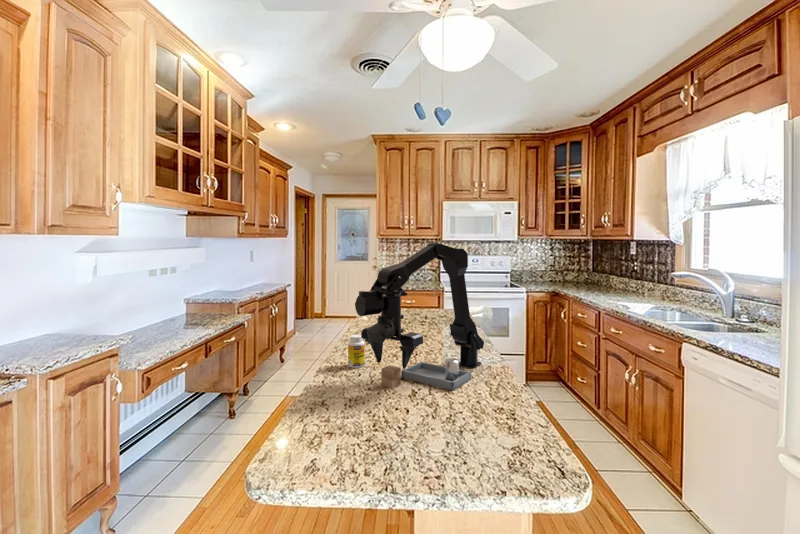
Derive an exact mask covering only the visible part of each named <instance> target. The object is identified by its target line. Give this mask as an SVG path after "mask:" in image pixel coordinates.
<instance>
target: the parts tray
mask: <svg viewBox="0 0 800 534" xmlns="http://www.w3.org/2000/svg"><path fill="white" fill-rule="evenodd" d="M401 379H405V380H408V381H409V380H410V381H414V382H417V383H421V384H425V385H429V386H433V387H437V388H442V389H444V390H445V389H446V390H451V391H455V390H457V389H458V388H460V387H462V386H463V385H465V384H467V383H468V382H469V381H471V380H472V372H471V371H466V370H462V369H459V378H458V379H456V380H454V381H453V382H452V381H448V380H445V365H444V366H442V365H438V364H434V363H429V362H424V361H420V362H417V363H415V364H413V365H411V366H409V367H406V368H404V369H401Z"/></svg>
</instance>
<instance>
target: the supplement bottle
mask: <svg viewBox="0 0 800 534" xmlns="http://www.w3.org/2000/svg"><path fill="white" fill-rule="evenodd" d="M365 342H366V341H365V340H363V338H361V334H351V335H350V339H349V341H348V343H347V354H348V355H347V356H348V357H347V359H348V360H347V362H348V363H347V365H348V367H349V368H352V369H360V368H363V367H364V366H365V365H366V357H365V356H366V352H365V351H366V350H365V349H366V348H365V347H366V345H365Z"/></svg>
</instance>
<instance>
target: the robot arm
mask: <svg viewBox="0 0 800 534" xmlns="http://www.w3.org/2000/svg"><path fill="white" fill-rule="evenodd" d="M468 255H469V254H468V253H467V251H466V250H465V249H464V248H455V247H452V246H448V245H445V244H443V243H441V242H430V243H428V244H427V245H426V246H425V247H423V248H422V249H420V250H418V251H416V253H413V254H412V255H410V256H409V257H407V258H405V260H403V261H402V262H399V263H396V264H393V265H389V266H386V267H384V268H382V269H380V270H379V272H378V273H377V278H376V280H375V281H374V283H373V284H372V286H371V288H370V290H367V291H366V290H359V291H358V296H357V297H356V300H355V302H354V306H355V307H354V308H355V312H356V314H357V315H358V316H360V317H366V316H373V315H378V316H377V322H376V323H375V324H373V325H372V326H368V327H365V328H362V330H361V333H360V335H361V338H362V340H364V342H366V343H368V344H369V345H370V347H371V349H372V351H373V354H374V356H375V361H377V363H378V364H379V363H382V357H383V348H384V342H385V341H386V340H393V341H398V342H399V344H401V346H399V349H400V351H401V366H402V370H404V369H406V368H407V366H408V364H409V361H410V359H411V356H412V355H413V353H414V351H415V349H416V348H417V347H419V346H420V345H423V344H424V337H423V335H422V333H418V332H412V331H410V332H407V333H405V334H402V333H404V331H405V329H404V328H402V319H404V316H405V315H404V314H402V297H407V296H408V292H406V291H405V290H404V289H403V287H404V286H405V285H406V284H407V282H408V281H409V280H410V277H411V275H413V274H414V273H415V272H417V271H419V270H420V269H421V268H423V267H425V266H426V265H427V264H429V263H430V262H432V261H433V260H435V259H436V260H439V261H441V264H442V267H443V270H444V271H445V273H446V274H447V275H448V279H449V285H450V286H449V287H450V291H451V299H452V306H453V312H454V319H453V322H452V323H450V324H449V329H450V336H451V338H452V339H453V341H454V344H455V346H459V347H460V349H459V351H460V353H459V356H460V357H459V367H465V368H468V369H469V368H470V369H475V368H476V367H479V366H480V365H481V364H482V361H478V359H479V357H478V355H479V354H478V353H479V352H478V351H480V350H481V349H483V348H484V345H485V340H483V339H482V338H481V336H480V335H479V333H478V332H479V331H478V329H477V326H476V323H475V322H474V321H473V319H472V318H471V314H470V308H469V307H470V305H469V299H468V298H469V297H468V293H467V292H468V291H467V285H466V283H467V282H466V279H465V278H466V277H465V274H466V272H467V269H468V268H469V267H468V266H469V256H468ZM379 314H380V315H379Z"/></svg>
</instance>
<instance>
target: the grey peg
mask: <svg viewBox="0 0 800 534" xmlns="http://www.w3.org/2000/svg"><path fill="white" fill-rule="evenodd" d="M459 362H460V359H458V358H453V357H452V358H451V357H449V358H446V359H445V360H444V367H445V380H448V381H452V382H453V381H454V380H456V379H458V378H459V370H460V366H459Z"/></svg>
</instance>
